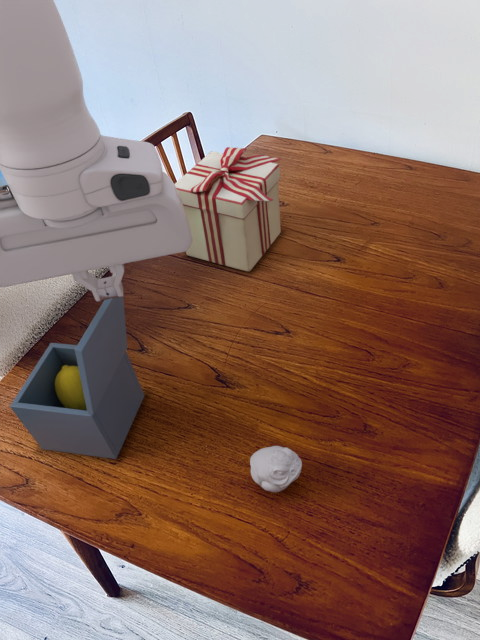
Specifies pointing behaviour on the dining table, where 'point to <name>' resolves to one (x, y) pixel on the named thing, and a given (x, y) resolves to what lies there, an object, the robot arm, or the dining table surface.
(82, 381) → the chest lid
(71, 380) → the lemon
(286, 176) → the dining table surface
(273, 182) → the gift box
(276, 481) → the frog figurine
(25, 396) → the chest
